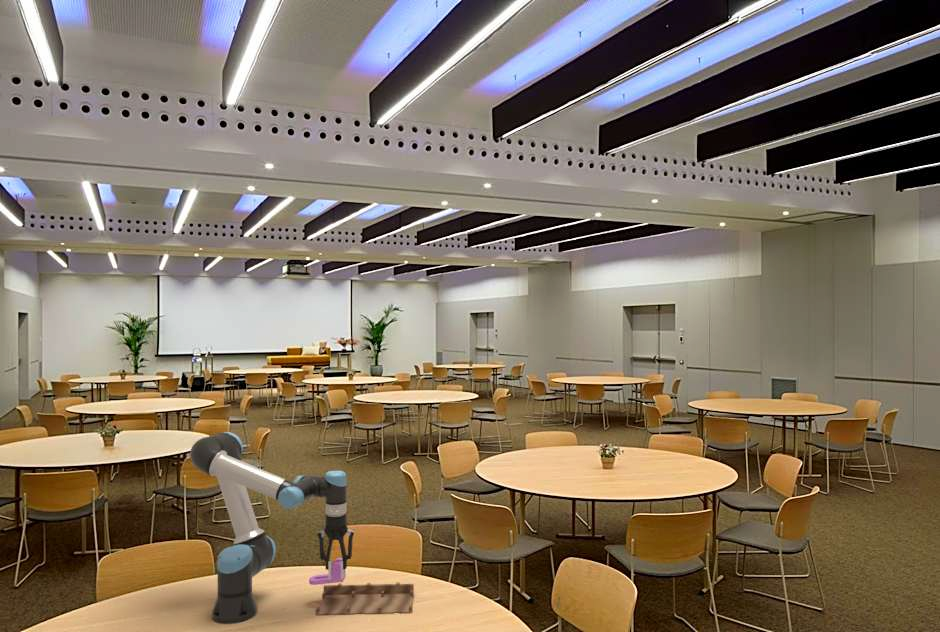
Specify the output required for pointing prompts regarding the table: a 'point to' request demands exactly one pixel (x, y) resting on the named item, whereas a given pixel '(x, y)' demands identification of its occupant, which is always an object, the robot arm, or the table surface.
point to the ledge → (366, 599)
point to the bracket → (324, 578)
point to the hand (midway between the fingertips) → (336, 577)
